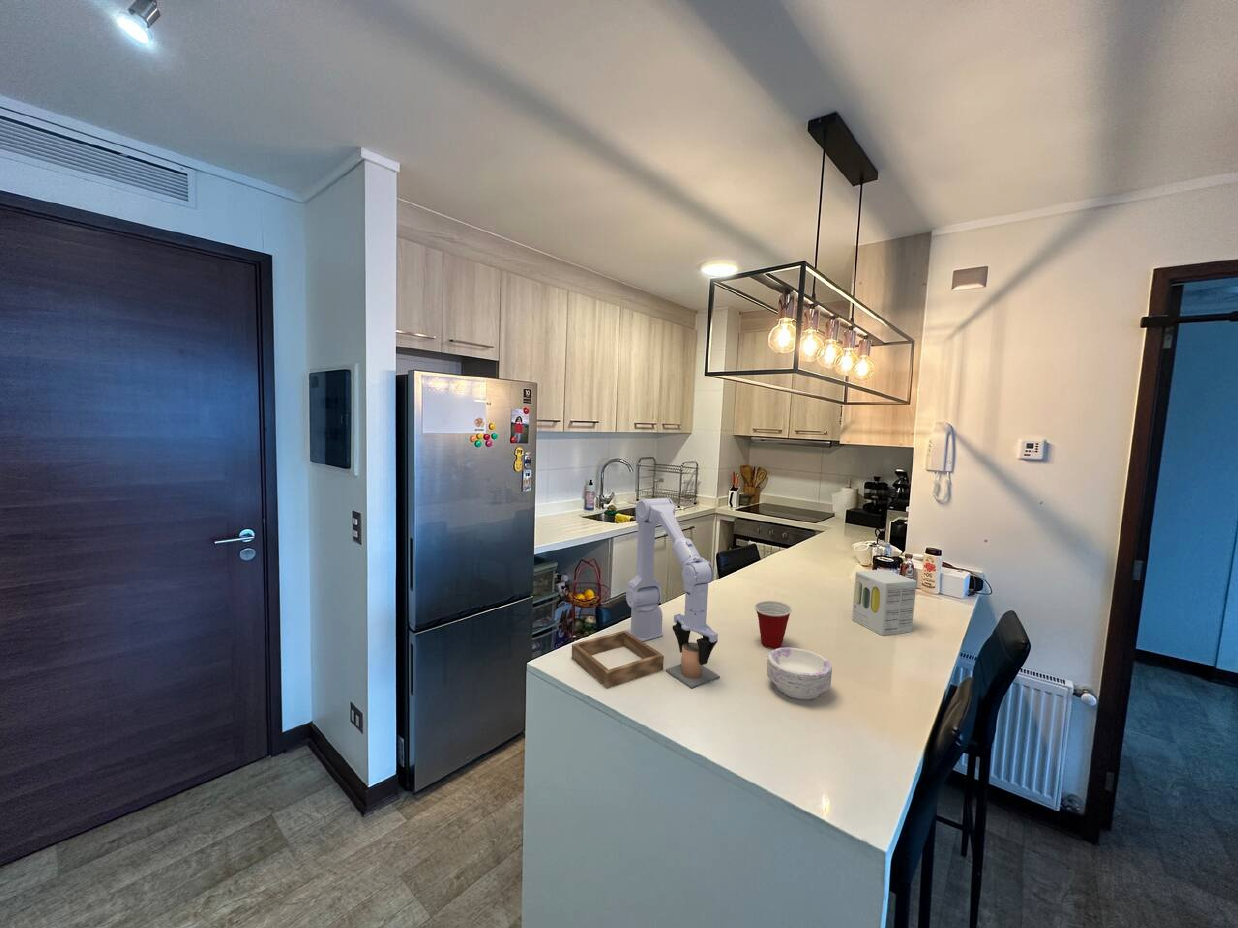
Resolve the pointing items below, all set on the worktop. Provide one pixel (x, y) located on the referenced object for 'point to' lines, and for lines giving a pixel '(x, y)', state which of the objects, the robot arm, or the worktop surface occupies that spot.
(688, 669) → the terracotta pot
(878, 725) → the worktop surface
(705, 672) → the slate pad
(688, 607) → the robot arm
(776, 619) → the plastic cup
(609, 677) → the brown wooden square frame
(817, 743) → the worktop surface
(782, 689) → the paper bowls
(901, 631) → the supplement box
